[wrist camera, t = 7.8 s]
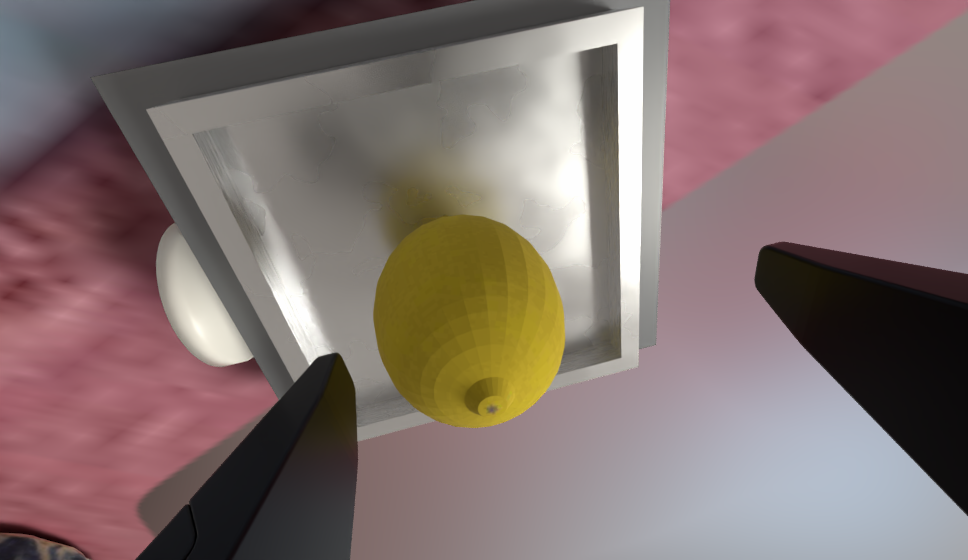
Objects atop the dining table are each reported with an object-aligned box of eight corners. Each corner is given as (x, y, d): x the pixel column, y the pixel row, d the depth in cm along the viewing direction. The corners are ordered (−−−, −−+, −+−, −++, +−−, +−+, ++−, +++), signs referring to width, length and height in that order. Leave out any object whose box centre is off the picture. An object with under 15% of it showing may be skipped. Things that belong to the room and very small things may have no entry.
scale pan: (613, 9, 14) (643, 6, 13) (618, 340, 21) (638, 366, 20) (177, 99, 13) (145, 109, 12) (335, 414, 21) (330, 448, 19)
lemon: (350, 218, 15) (315, 369, 8) (498, 159, 15) (584, 264, 8) (413, 333, 18) (426, 517, 11) (538, 285, 18) (627, 440, 11)
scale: (616, -25, 17) (710, -49, 12) (620, 303, 26) (678, 370, 20) (126, 73, 16) (1, 92, 11) (296, 385, 24) (270, 480, 19)
